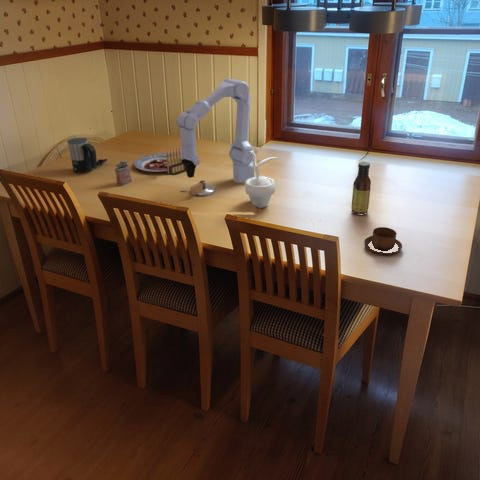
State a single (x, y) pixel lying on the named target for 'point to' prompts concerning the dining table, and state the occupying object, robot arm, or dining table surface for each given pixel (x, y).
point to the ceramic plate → (152, 163)
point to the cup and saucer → (383, 240)
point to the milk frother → (83, 155)
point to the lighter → (123, 173)
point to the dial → (202, 189)
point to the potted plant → (259, 185)
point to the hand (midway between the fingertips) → (190, 176)
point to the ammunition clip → (174, 163)
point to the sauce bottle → (361, 189)
